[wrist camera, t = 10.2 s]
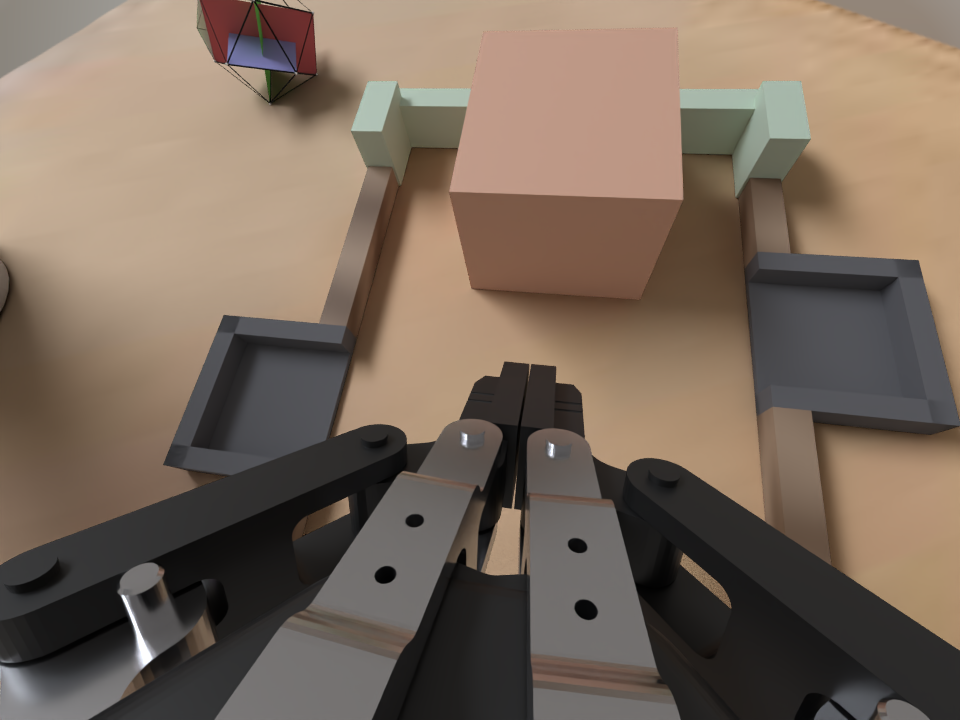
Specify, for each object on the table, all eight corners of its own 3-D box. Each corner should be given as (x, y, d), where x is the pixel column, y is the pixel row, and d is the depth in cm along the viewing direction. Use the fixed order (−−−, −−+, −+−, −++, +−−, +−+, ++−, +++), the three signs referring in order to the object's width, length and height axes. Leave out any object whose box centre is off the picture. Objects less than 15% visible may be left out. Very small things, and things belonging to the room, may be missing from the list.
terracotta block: (639, 300, 24) (683, 199, 17) (471, 289, 25) (449, 191, 18) (641, 158, 27) (677, 27, 21) (494, 155, 29) (483, 31, 22)
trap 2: (315, 489, 21) (300, 485, 20) (185, 469, 23) (163, 464, 21) (356, 338, 24) (346, 326, 23) (240, 327, 26) (223, 315, 24)
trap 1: (930, 434, 20) (960, 425, 18) (756, 416, 21) (772, 406, 19) (894, 277, 22) (918, 260, 21) (744, 269, 24) (757, 251, 22)
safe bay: (770, 198, 25) (811, 139, 21) (374, 184, 29) (350, 130, 25) (762, 136, 27) (799, 71, 23) (390, 130, 30) (371, 72, 27)
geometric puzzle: (340, 7, 33) (222, -92, 27) (347, 66, 30) (216, -30, 24) (293, 81, 37) (182, 10, 31) (295, 139, 34) (173, 72, 29)
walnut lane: (829, 747, 16) (857, 765, 15) (244, 626, 20) (222, 632, 18) (762, 155, 26) (775, 133, 25) (387, 146, 30) (380, 127, 28)
